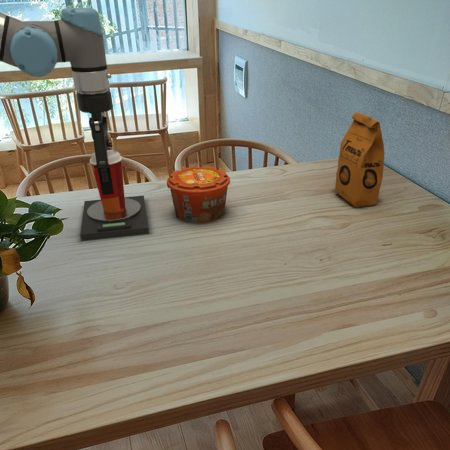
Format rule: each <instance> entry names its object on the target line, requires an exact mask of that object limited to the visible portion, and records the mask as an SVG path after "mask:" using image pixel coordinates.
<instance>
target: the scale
mask: <svg viewBox="0 0 450 450" xmlns="http://www.w3.org/2000/svg"><path fill="white" fill-rule="evenodd" d="M79 233H80V234H79V235H80V240H81V242H85V241H95V240H105V239H114V238H123V237H134V236H142V235H149V234H150V230H149V224H148V215H147V208H146V202H145V195H134V196H133V195H132V196H125V209H124V210H123V211H120V212H117V213H108V212H105V211H104V209H103V206H102V202H101V199H92V200H91V199H90V200H84V203H83V209H82V218H81V227H80V232H79Z"/></svg>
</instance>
